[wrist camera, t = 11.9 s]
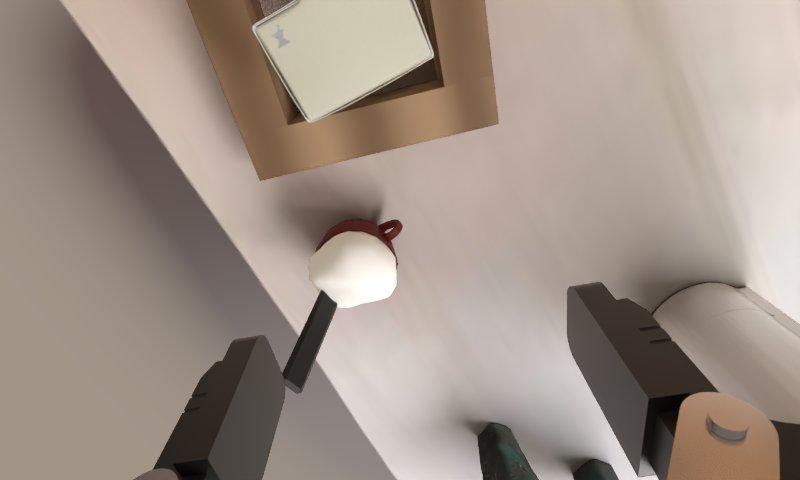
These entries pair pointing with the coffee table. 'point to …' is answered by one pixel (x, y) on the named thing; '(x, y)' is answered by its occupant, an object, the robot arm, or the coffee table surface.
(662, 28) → the coffee table surface
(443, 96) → the wooden u-shaped block
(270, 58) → the skincare box
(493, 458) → the ceramic cat
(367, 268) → the cocoa
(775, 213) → the coffee table surface
